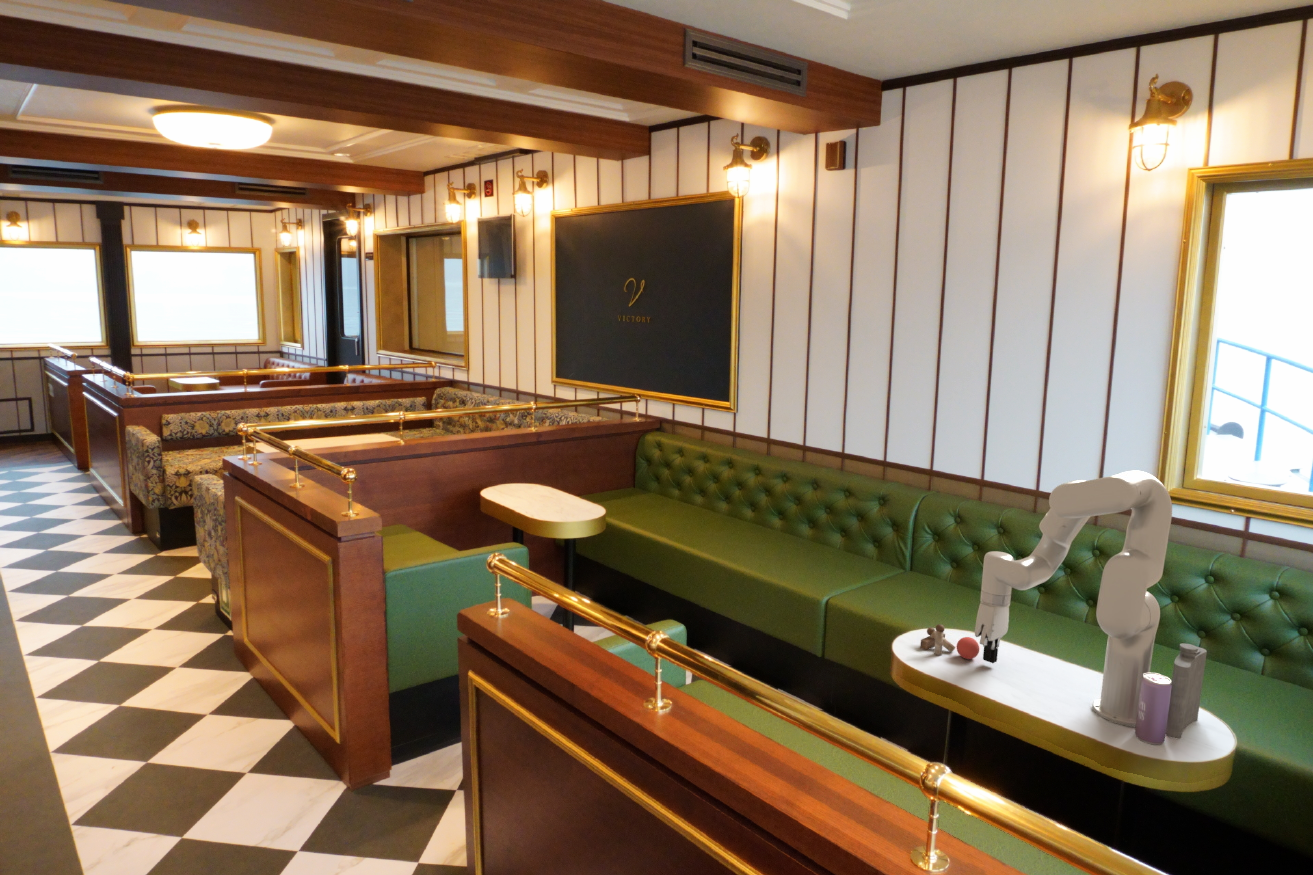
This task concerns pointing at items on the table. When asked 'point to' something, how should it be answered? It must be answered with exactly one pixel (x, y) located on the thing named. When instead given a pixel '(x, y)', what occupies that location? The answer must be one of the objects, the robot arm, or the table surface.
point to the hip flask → (1185, 689)
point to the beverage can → (1153, 708)
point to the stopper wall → (928, 642)
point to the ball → (967, 648)
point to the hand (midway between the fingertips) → (989, 660)
